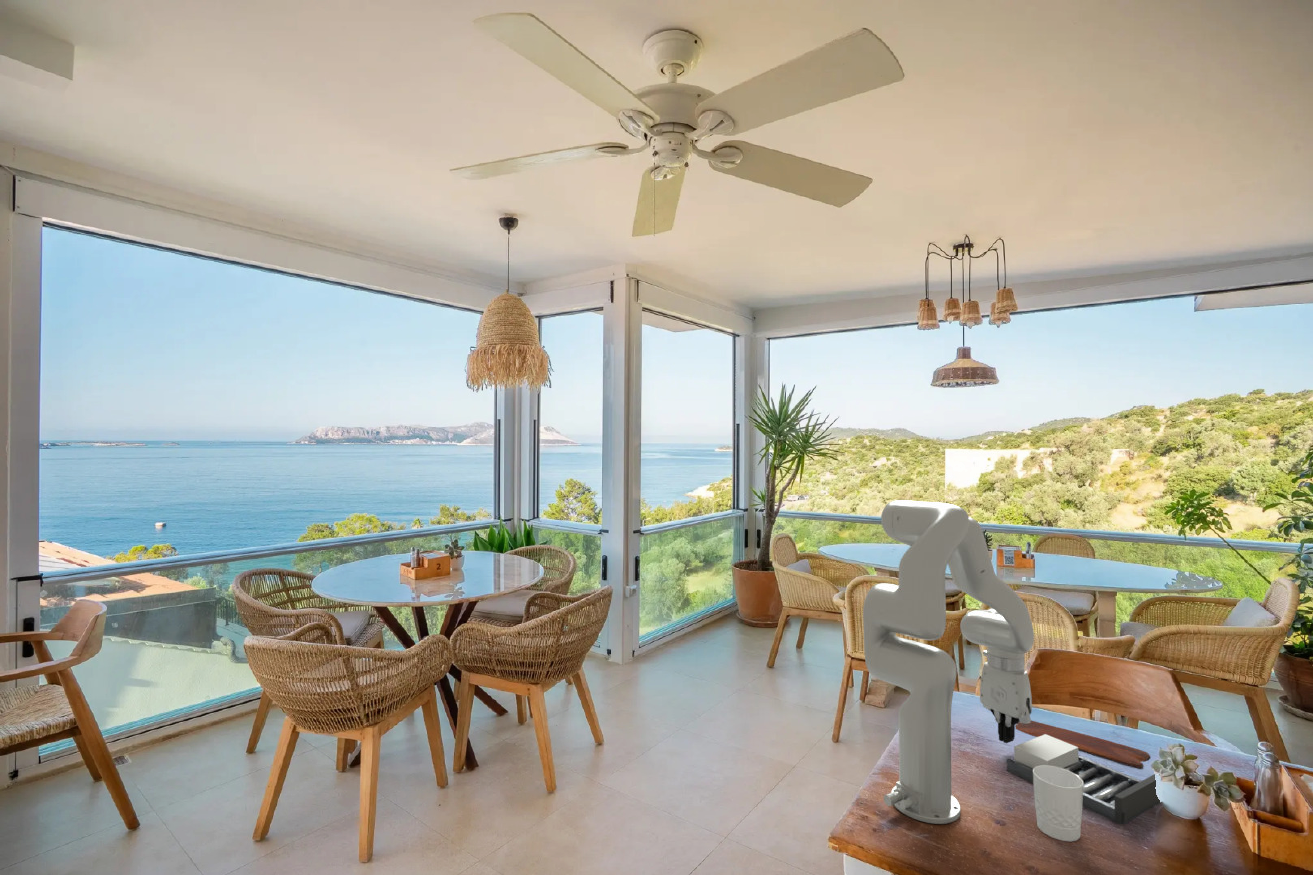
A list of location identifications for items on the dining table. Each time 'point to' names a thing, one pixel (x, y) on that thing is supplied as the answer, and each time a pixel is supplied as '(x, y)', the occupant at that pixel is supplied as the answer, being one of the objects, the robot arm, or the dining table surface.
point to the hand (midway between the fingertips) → (1006, 740)
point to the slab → (1046, 752)
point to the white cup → (1058, 802)
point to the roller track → (1105, 789)
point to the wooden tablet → (1088, 743)
